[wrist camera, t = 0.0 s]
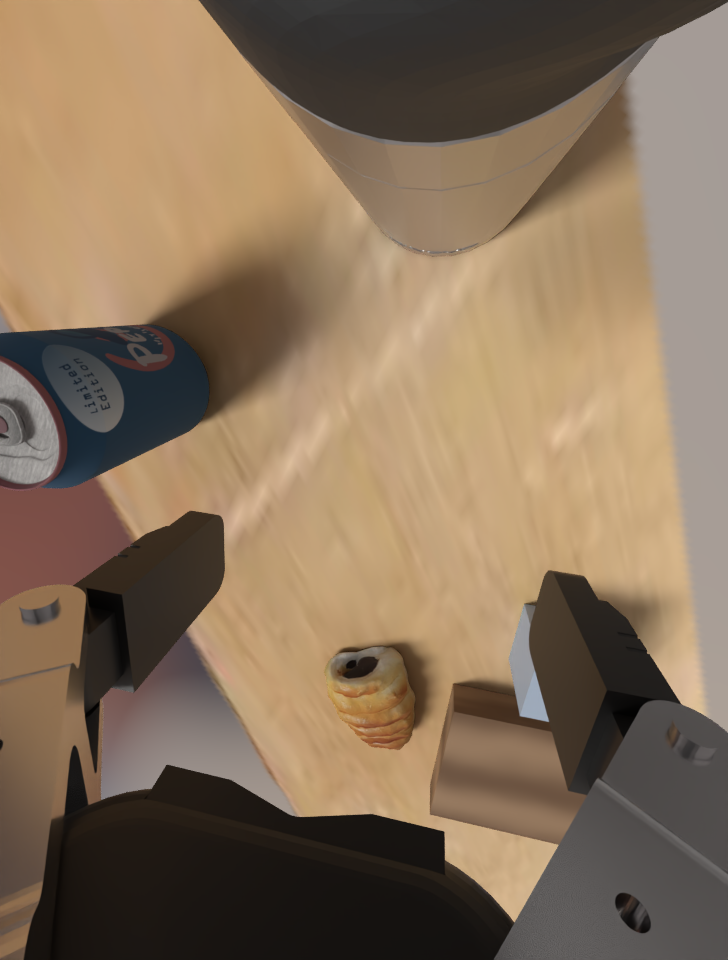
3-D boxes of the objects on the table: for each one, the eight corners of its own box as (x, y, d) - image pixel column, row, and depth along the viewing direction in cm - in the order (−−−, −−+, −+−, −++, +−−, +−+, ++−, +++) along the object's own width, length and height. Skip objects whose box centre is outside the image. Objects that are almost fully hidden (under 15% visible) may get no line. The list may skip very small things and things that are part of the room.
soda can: (209, 322, 26) (44, 332, 15) (226, 432, 29) (94, 508, 18) (109, 325, 28) (-112, 336, 17) (133, 430, 30) (-44, 501, 19)
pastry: (432, 726, 36) (430, 771, 33) (357, 732, 38) (348, 775, 34) (400, 638, 33) (394, 677, 30) (320, 649, 35) (306, 687, 32)
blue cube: (524, 603, 30) (539, 655, 26) (599, 616, 30) (628, 672, 25) (508, 657, 32) (519, 716, 27) (578, 670, 31) (602, 732, 27)
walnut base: (452, 679, 34) (454, 711, 31) (612, 710, 33) (628, 747, 30) (430, 778, 39) (429, 814, 36) (569, 809, 37) (579, 849, 35)
